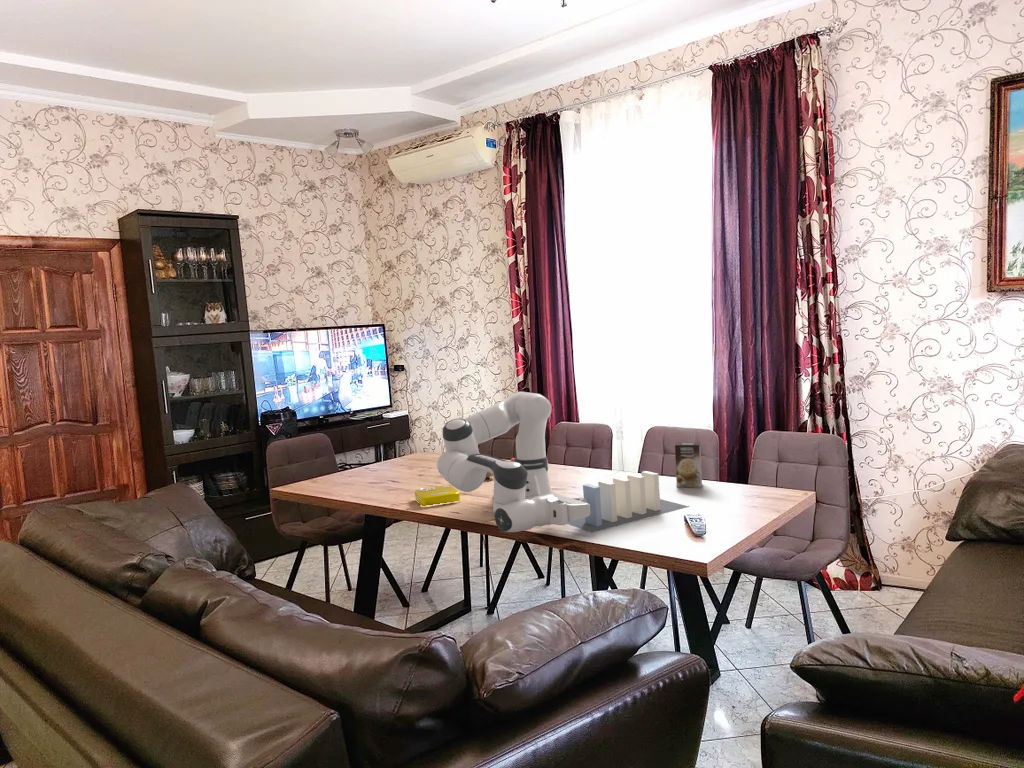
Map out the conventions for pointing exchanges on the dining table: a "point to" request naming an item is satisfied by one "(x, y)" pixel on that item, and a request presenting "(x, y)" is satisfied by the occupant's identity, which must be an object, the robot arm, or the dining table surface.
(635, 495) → the domino
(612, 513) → the domino
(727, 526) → the dining table surface
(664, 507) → the rubber mat
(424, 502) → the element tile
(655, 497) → the domino
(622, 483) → the domino
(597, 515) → the blue domino
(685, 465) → the coffee box
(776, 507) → the dining table surface
